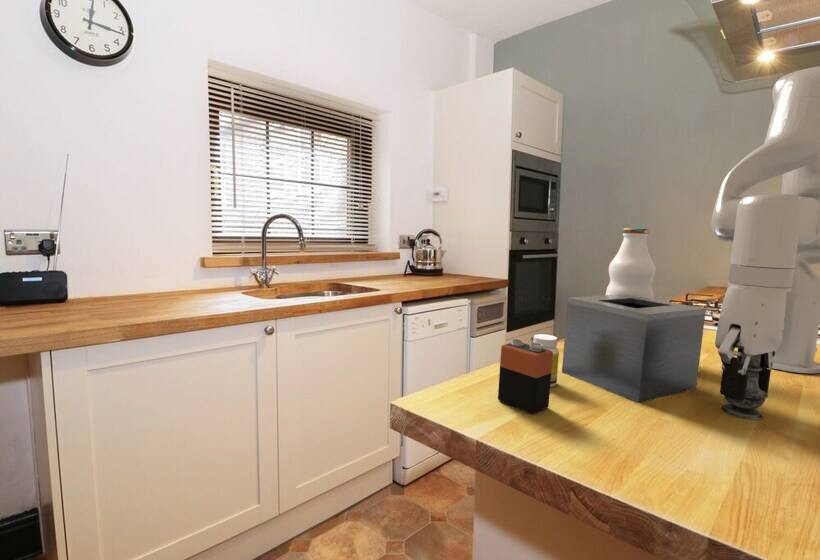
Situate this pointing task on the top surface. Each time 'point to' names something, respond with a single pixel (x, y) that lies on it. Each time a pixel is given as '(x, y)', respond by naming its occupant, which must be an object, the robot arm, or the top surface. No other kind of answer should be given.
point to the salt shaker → (748, 393)
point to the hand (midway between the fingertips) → (743, 393)
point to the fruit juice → (632, 266)
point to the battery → (525, 375)
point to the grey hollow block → (633, 345)
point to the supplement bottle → (551, 344)
